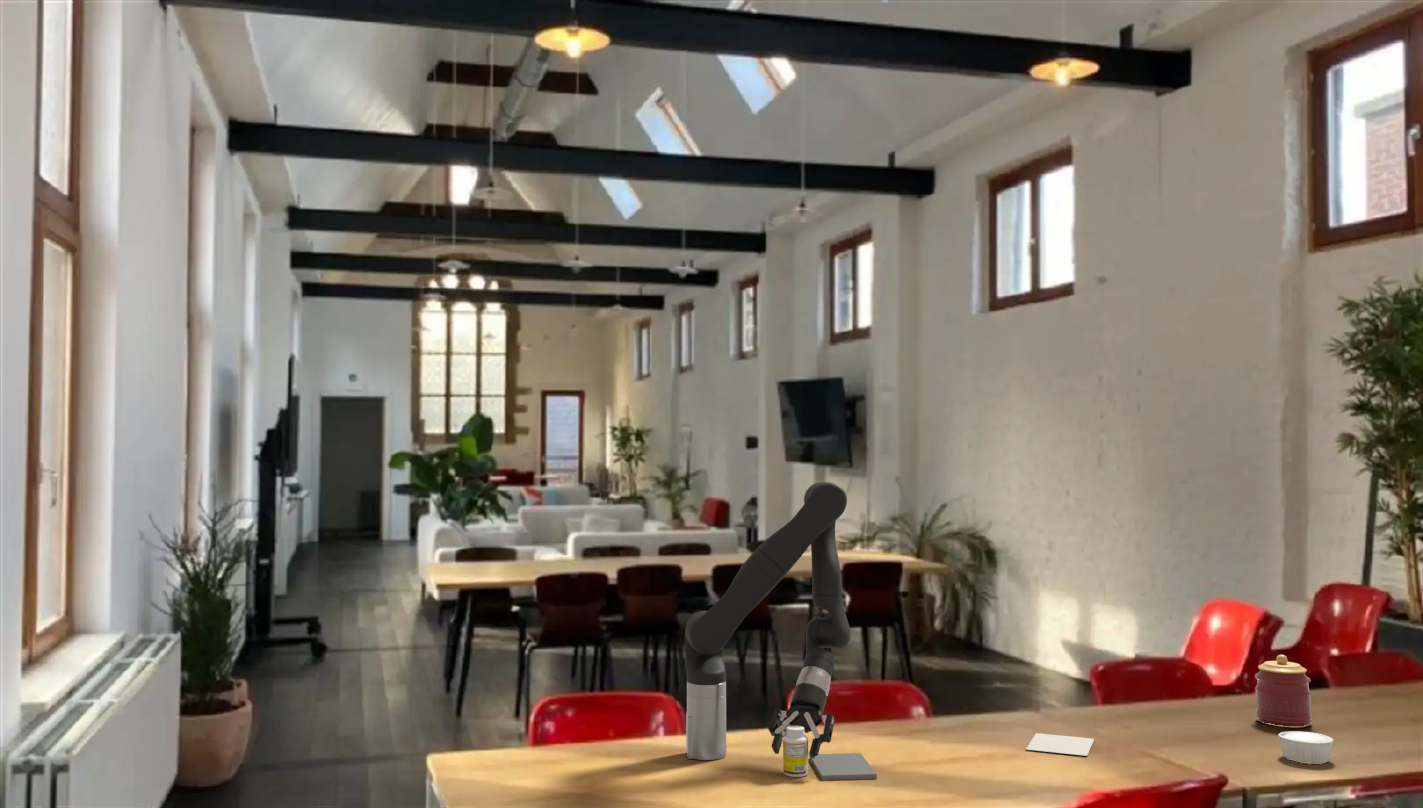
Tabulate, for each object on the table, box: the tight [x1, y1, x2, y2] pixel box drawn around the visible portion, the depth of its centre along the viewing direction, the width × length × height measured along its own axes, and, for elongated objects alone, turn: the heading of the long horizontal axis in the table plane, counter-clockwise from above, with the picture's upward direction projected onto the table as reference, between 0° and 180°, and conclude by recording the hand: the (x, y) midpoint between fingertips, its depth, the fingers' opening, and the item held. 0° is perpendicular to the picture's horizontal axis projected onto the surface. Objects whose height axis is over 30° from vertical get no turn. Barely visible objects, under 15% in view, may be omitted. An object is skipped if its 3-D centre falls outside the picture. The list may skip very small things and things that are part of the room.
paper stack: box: [1025, 732, 1095, 757], centre depth 262 cm, size 23×25×1 cm
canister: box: [1254, 654, 1313, 726], centre depth 290 cm, size 13×13×18 cm
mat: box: [808, 752, 878, 781], centre depth 249 cm, size 12×17×1 cm
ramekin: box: [1277, 730, 1334, 763], centre depth 255 cm, size 11×11×5 cm
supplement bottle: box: [782, 725, 809, 778], centre depth 245 cm, size 6×6×10 cm
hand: (793, 754), depth 244 cm, fingers open, 8 cm apart
